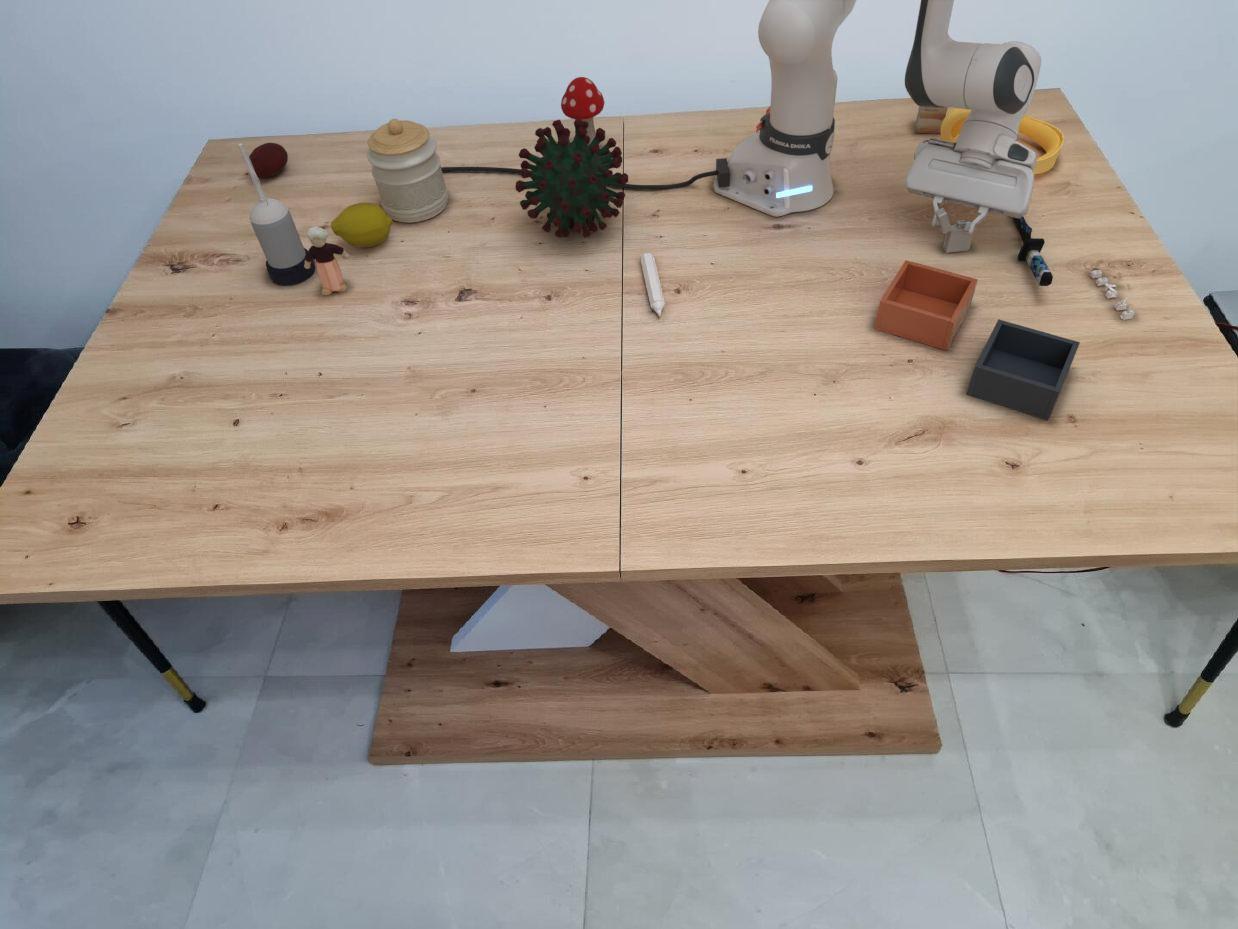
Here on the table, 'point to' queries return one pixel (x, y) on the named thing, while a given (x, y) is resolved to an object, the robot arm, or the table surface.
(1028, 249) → the knife
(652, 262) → the marker
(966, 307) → the terracotta bin
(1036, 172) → the headset
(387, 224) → the lemon
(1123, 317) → the figurines set
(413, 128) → the jar
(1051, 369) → the grey bin
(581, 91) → the decorative mushroom
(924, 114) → the beige brown box
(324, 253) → the grandmother figurine
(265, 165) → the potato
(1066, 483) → the table surface
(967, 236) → the lighter
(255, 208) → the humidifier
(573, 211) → the virus model
